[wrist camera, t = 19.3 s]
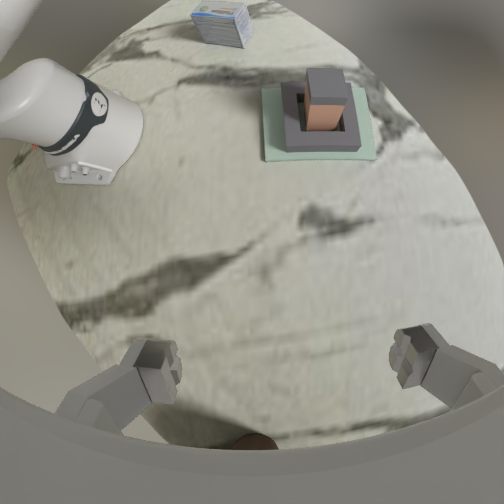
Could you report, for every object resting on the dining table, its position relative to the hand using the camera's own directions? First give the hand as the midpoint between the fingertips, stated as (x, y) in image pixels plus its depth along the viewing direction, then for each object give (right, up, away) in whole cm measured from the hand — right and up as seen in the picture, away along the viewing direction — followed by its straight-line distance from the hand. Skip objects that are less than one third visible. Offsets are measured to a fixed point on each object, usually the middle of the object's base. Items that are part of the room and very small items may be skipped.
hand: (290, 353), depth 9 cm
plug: (+8, +22, +26) cm, 35 cm away
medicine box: (-5, +41, +27) cm, 49 cm away
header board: (+8, +22, +26) cm, 36 cm away
